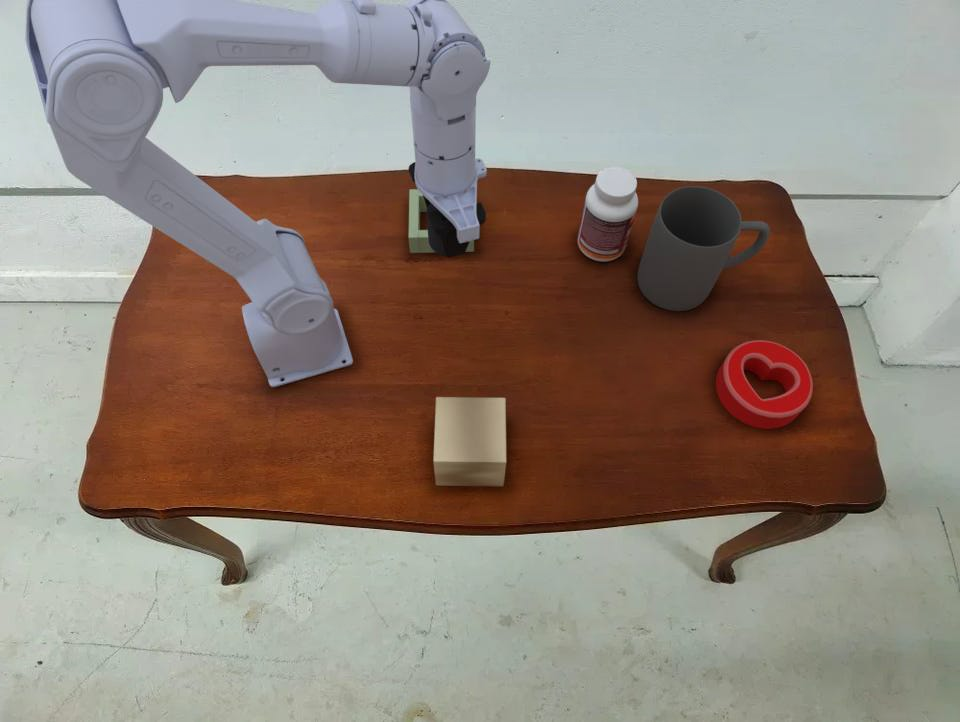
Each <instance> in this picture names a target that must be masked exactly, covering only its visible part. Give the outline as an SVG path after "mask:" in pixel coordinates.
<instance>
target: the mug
mask: <svg viewBox="0 0 960 722" xmlns="http://www.w3.org/2000/svg"><path fill="white" fill-rule="evenodd" d="M746 231H747V232H749V231H751V232H752V231H758V235H757V237H756V239H755V241H754V242H753V243H752V244H751V245H750V246H749V247H747V248H746V249H744V250H743V251H741V252H738V253H737V254H735V255H733V256H731V257H730V255H731V253H732V250H733V248H734V246H735V244H736V242H737V240H738V238H739V235H740V233H741V232H746ZM770 234H771V228H770V226H769V224H768V223H766V222H765V221H760V220H748V221H746V220H743V221H742V215H741V212H740V210H739V208H738V207H737V206H736V204H735V203H734V202H733V200H731V199H730V198H729V197H728V196H727V195H725V194H723V193H721V192H720V191H717V190H716V189H712V188H709V187H705V186H698V185H687V186H682V187H679V188H675V189H674V190H672V191H671V192H669V193H668V194H667V195H666V196H665V197H664V198H663V200H662V201H661V203H660V204H659V206H658V209H657V212H656V214H655V217H654V219H653V223H652V226H651V228H650V231H649V234H648V237H647V240H646V243H645V246H644V249H643V252H642V255H641V258H640V262H639V265H638V270H637V284H638V287H639V290H640V291H641V293H642V295H643V296H644V297H645V298H646V300H648V301H649V302H650V303H652V305H655V306H656V307H659V308H661V309H663V310H667V311H672V312H685V311H690V310H693V309H694V308H697V307H699V306H700V305H701V304H703V303H704V302H705V301H706V300H707V298H708V297H709V295H710V293H711V292H712V289H714V287H715V284H716V282H717V281H718V279H719V277H720V275H721V273H722V271H723V270H728V269H730V268H734V267H735V266H737V265H740V264H742V263H744V262H746V261H748V260H750V259H751V258H753V257H755V256H756V255H757V254H758V253H760V252H761V250H762V249H763V248H764V247H765V245H766V244H767V242H768V240H769V238H770Z"/></svg>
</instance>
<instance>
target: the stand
mask: <svg viewBox="0 0 960 722" xmlns="http://www.w3.org/2000/svg"><path fill="white" fill-rule="evenodd" d="M506 404H507V403H506V397H472V396H471V397H470V396H469V397H467V396H463V397H461V396H436V397H435V413H434V417H435V418H434V437H433V461H432V463H433V471H434V480H435V486H437V487H438V486H439V487H440V486H443V487H445V486H446V487H504V484H505V478H506V469H507V408H506V407H507V405H506Z"/></svg>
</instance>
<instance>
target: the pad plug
mask: <svg viewBox="0 0 960 722" xmlns="http://www.w3.org/2000/svg"><path fill="white" fill-rule="evenodd" d="M435 210H438V209H437V208H436V207H435V206H434V205H433V204H432V203H430V204H429V206H428V207H427V211H426V212H425V213H427V212H431V211H435ZM426 227H427V230H428V241H429V245H430V247H431V248H432V249H433V250H434V251H435V252H436V254H438V255H442V256H444V257H447V256H446V254H445V252H444V249H443V247H442V243H441V240H440V237H439V236H438V235H437V234H436V233H435V232H434V231H433V229H432V227H431V225H430V222H429V220H428V218H427V217H426ZM468 245H469V244H468Z"/></svg>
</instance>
